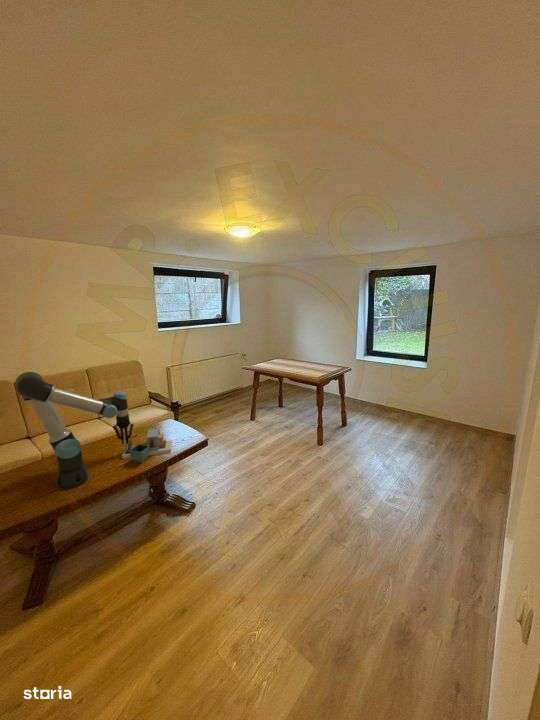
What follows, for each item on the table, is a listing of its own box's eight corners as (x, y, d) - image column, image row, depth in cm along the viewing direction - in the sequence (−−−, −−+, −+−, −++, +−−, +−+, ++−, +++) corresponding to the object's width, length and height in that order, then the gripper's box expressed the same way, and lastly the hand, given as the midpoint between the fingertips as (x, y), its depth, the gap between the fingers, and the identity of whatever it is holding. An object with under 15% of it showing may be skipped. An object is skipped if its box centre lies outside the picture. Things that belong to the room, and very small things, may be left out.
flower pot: (142, 465, 183) (141, 452, 181) (130, 463, 185) (128, 450, 183) (150, 458, 192) (149, 445, 190) (139, 456, 193) (137, 444, 192)
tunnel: (147, 451, 195) (146, 437, 193) (150, 443, 207) (148, 429, 205) (158, 450, 197) (157, 436, 195) (160, 441, 208) (159, 428, 206)
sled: (128, 452, 194) (127, 443, 192) (130, 446, 201) (130, 438, 200) (165, 447, 200) (164, 439, 199) (166, 442, 207) (165, 434, 206)
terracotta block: (153, 446, 198) (153, 438, 197) (154, 442, 204) (154, 434, 203) (163, 445, 200) (162, 437, 199) (163, 441, 206) (163, 433, 205)
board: (122, 458, 190) (122, 455, 190) (126, 448, 204) (126, 445, 203) (170, 452, 198) (170, 449, 198) (171, 443, 212) (171, 439, 211)
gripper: (109, 418, 187) (113, 452, 191) (132, 416, 190) (135, 449, 195) (112, 413, 194) (116, 446, 198) (134, 411, 197) (137, 444, 202)
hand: (125, 447), depth 197 cm, fingers closed
